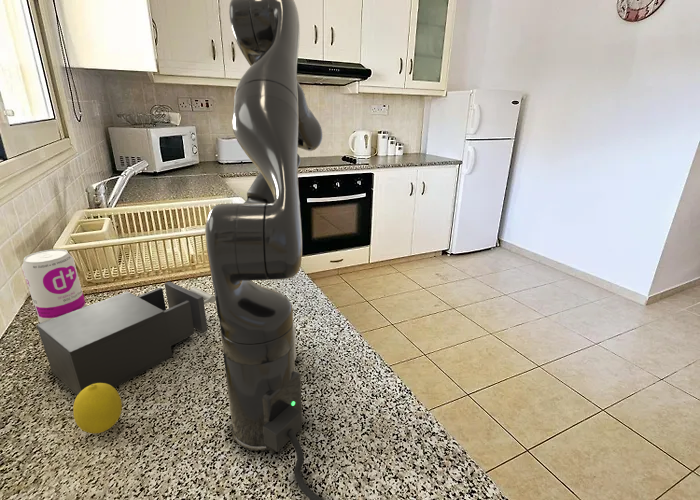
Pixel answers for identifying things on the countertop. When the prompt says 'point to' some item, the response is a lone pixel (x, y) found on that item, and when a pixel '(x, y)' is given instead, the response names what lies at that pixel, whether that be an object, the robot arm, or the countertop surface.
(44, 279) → the supplement can
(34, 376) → the countertop surface
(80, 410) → the lemon
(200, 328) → the fryer drawer
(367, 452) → the countertop surface
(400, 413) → the countertop surface
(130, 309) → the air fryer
